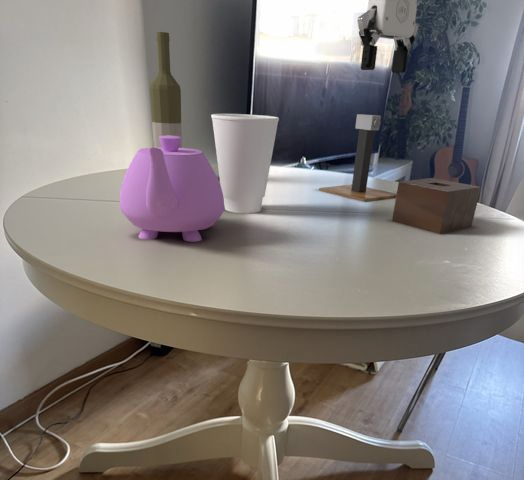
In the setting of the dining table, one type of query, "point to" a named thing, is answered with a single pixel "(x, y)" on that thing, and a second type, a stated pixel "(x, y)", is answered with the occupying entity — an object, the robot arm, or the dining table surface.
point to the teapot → (171, 191)
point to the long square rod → (364, 149)
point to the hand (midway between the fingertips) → (383, 71)
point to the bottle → (165, 96)
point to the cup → (244, 158)
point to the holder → (435, 204)
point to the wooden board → (358, 193)
